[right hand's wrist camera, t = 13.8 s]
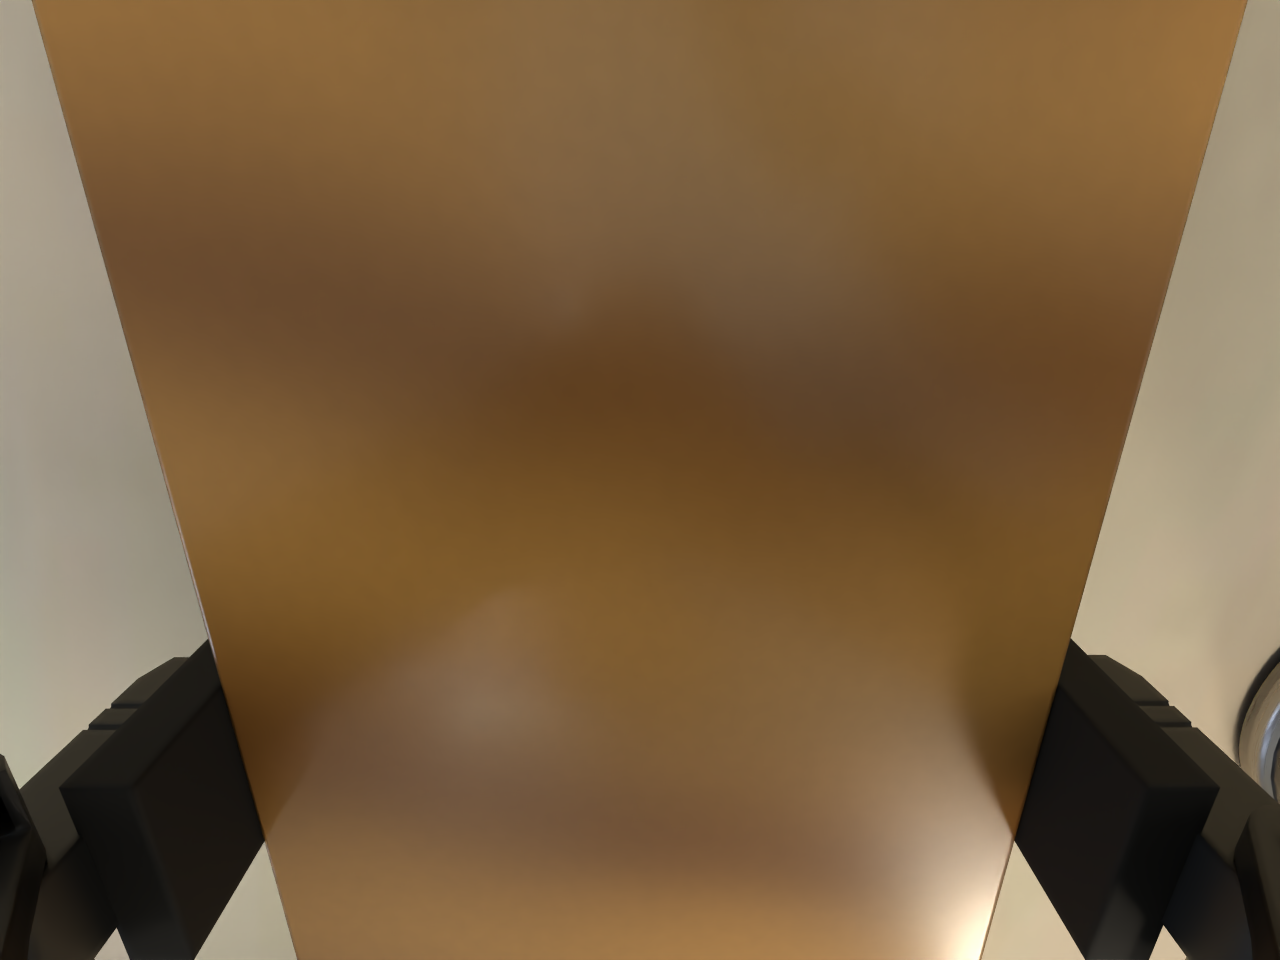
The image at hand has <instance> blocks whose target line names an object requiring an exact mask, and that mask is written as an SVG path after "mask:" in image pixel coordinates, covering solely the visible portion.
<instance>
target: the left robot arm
mask: <svg viewBox="0 0 1280 960" xmlns="http://www.w3.org/2000/svg"><path fill="white" fill-rule="evenodd" d="M1239 759H1240V765H1241V769H1242V770H1243V771H1244V772H1245V773H1246V774H1248V775H1249V776H1250V777H1251V778H1252V779H1253V780H1254V781H1255V782H1256V783H1257V784H1258V785H1259V786H1260V787H1262V788H1263V789H1264V790H1265V791H1266V792H1267V793H1268V794H1269V795H1270V796H1271V797H1272V798H1273V799H1274V800H1276V801H1277V802H1278V803H1279V804H1280V662H1279V663H1278V665H1277V666H1276V667H1275V668H1274V669H1273V670H1272V671H1271V673H1270V674H1269V676H1268V677H1267V678H1266V680H1265V681H1264V682H1263V684H1262V685H1261V687H1260V689H1259V690H1258V692H1257V693H1256V695H1255V697H1254V699H1253V701H1252V703H1251V705H1250V707H1249V709H1248V711H1247V714H1246V717H1245V720H1244V722H1243V726H1242V731H1241V735H1240V743H1239Z"/></svg>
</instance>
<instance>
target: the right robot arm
mask: <svg viewBox="0 0 1280 960" xmlns="http://www.w3.org/2000/svg"><path fill="white" fill-rule="evenodd" d="M1168 702H1169V701H1168V700H1167V699H1166V698H1165V697H1164V696H1162V695H1161V694H1160V693H1159V692H1158V691H1157V690H1156V689H1155V688H1154V687H1153V686H1152V685H1151V684H1150V683H1149V682H1147V681H1146V680H1145V679H1144V678H1143V677H1142V676H1140V675H1139V674H1137V673H1135V672H1134V671H1132V670H1130V669H1129V668H1127V667H1125V666H1123V665H1122V664H1120V663H1118V662H1117V661H1115V660H1113V659H1112V658H1110V657H1108V656H1106V655H1087V654H1086V653H1085V652H1084V651H1083V650H1082V649H1081V648H1080V647H1079V646H1078V645H1077V644H1076V643H1075V642H1074V641H1073V640H1072V639H1071V638H1070V642H1069V645H1068V649H1067V652H1066V656H1065V660H1064V663H1063V667H1062V670H1061V674H1060V678H1059V681H1058V685H1057V688H1056V692H1055V696H1054V699H1053V703H1052V706H1051V710H1050V714H1049V717H1048V721H1047V724H1046V728H1045V732H1044V735H1043V739H1042V742H1041V746H1040V750H1039V753H1038V757H1037V760H1036V764H1035V768H1034V771H1033V775H1032V778H1031V782H1030V786H1029V789H1028V793H1027V796H1026V800H1025V804H1024V807H1023V811H1022V814H1021V818H1020V822H1019V825H1018V829H1017V832H1016V836H1015V840H1014V841H1015V842H1016V844H1017V846H1018V847H1019V849H1020V851H1021V852H1022V854H1023V856H1024V857H1025V859H1026V861H1027V862H1028V864H1029V866H1030V867H1031V869H1032V871H1033V873H1034V874H1035V876H1036V878H1037V879H1038V881H1039V883H1040V884H1041V886H1042V888H1043V889H1044V891H1045V893H1046V894H1047V896H1048V898H1049V899H1050V901H1051V903H1052V905H1053V906H1054V908H1055V910H1056V911H1057V913H1058V915H1059V916H1060V918H1061V920H1062V921H1063V923H1064V925H1065V926H1066V928H1067V930H1068V931H1069V933H1070V935H1071V937H1072V938H1073V940H1074V942H1075V943H1076V945H1077V947H1078V948H1079V950H1080V952H1081V953H1082V955H1083V957H1084V958H1085V960H1149V958H1150V956H1151V953H1152V951H1153V949H1154V946H1155V944H1156V941H1157V939H1158V937H1159V934H1160V932H1161V929H1162V927H1163V925H1164V926H1165V928H1166V929H1167V930H1168V932H1169V933H1170V934H1171V936H1172V937H1173V939H1174V940H1175V941H1176V943H1177V944H1178V945H1179V947H1180V948H1181V949H1182V951H1183V952H1184V954H1185V955H1186V956H1187V957H1186V959H1185V960H1280V804H1279V803H1278V802H1277V801H1276V800H1274V799H1273V798H1272V797H1271V796H1270V795H1269V794H1268V793H1267V792H1266V791H1265V790H1264V789H1263V788H1262V787H1260V786H1259V785H1258V784H1257V783H1256V782H1255V781H1254V780H1253V779H1252V778H1251V777H1250V776H1249V775H1248V774H1246V773H1245V772H1244V771H1243V770H1242V769H1241V768H1240V767H1239V766H1238V765H1237V764H1236V763H1235V762H1234V761H1232V760H1231V759H1230V758H1229V757H1228V756H1227V755H1226V754H1225V753H1224V752H1223V751H1222V750H1221V749H1220V748H1218V747H1217V746H1216V745H1215V744H1214V743H1213V742H1212V741H1211V740H1210V739H1209V738H1208V737H1207V736H1206V735H1204V734H1203V733H1202V732H1201V731H1200V730H1199V729H1198V728H1193V727H1192V726H1191V722H1190V721H1189V720H1188V719H1187V718H1186V717H1185V716H1184V715H1183V714H1182V713H1181V712H1180V711H1179V710H1178V709H1176V708H1175V707H1174V706H1169V703H1168ZM263 843H264V837H263V834H262V830H261V826H260V823H259V819H258V816H257V812H256V808H255V805H254V801H253V798H252V794H251V790H250V787H249V783H248V779H247V776H246V772H245V769H244V765H243V761H242V758H241V754H240V751H239V747H238V743H237V740H236V736H235V733H234V729H233V725H232V722H231V718H230V715H229V711H228V707H227V704H226V700H225V696H224V693H223V689H222V686H221V682H220V678H219V675H218V671H217V668H216V664H215V660H214V657H213V653H212V650H211V646H210V642H209V639H207V640H206V641H205V642H204V643H203V644H202V645H201V646H200V647H199V648H198V649H197V650H196V651H195V652H194V653H193V654H192V655H191V656H190V657H174V658H172V659H171V660H169V661H167V662H165V663H164V664H162V665H160V666H159V667H157V668H155V669H154V670H152V671H150V672H149V673H147V674H145V675H143V676H142V677H140V678H138V679H137V680H136V681H135V682H134V683H133V684H132V685H131V686H130V687H129V688H128V689H126V690H125V691H124V692H123V693H122V694H121V695H120V696H119V697H118V698H117V699H116V700H115V701H114V702H113V703H112V704H111V708H110V709H105V710H104V711H103V712H102V713H101V714H100V715H99V716H98V717H97V718H95V719H94V720H93V721H92V722H91V723H90V724H89V728H88V730H83V731H82V732H80V733H79V734H78V735H77V736H76V737H75V738H74V739H73V740H72V741H71V742H70V743H69V744H68V745H67V746H66V747H64V748H63V749H62V750H61V751H60V752H59V753H58V754H57V755H56V756H55V757H54V758H53V759H52V760H51V761H49V762H48V763H47V764H46V765H45V766H44V767H43V768H42V769H41V770H40V771H39V772H38V773H37V774H36V775H34V776H33V777H32V778H31V779H30V780H29V781H28V782H27V783H26V784H25V785H24V786H23V787H22V788H21V789H20V790H19V788H18V786H17V784H16V782H15V779H14V777H13V775H12V773H11V771H10V768H9V766H8V764H7V762H6V759H5V757H4V756H3V755H1V754H0V960H95V959H94V958H95V956H96V955H97V954H98V952H99V951H100V950H101V948H102V947H103V945H104V944H105V943H106V941H107V940H108V939H109V937H110V936H111V934H112V933H113V932H114V930H115V929H116V928H117V929H118V932H119V934H120V937H121V939H122V941H123V944H124V946H125V949H126V951H127V953H128V956H129V958H130V960H194V959H195V957H196V955H197V954H198V952H199V950H200V949H201V947H202V945H203V944H204V942H205V940H206V939H207V937H208V935H209V934H210V932H211V930H212V929H213V927H214V925H215V923H216V922H217V920H218V918H219V917H220V915H221V913H222V912H223V910H224V908H225V907H226V905H227V903H228V902H229V900H230V898H231V897H232V895H233V893H234V891H235V890H236V888H237V886H238V885H239V883H240V881H241V880H242V878H243V876H244V875H245V873H246V871H247V870H248V868H249V866H250V865H251V863H252V861H253V859H254V858H255V856H256V854H257V853H258V851H259V849H260V848H261V846H262V844H263Z"/></svg>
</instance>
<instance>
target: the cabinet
mask: <svg viewBox="0 0 1280 960" xmlns="http://www.w3.org/2000/svg"><path fill="white" fill-rule="evenodd" d="M1247 1H1248V0H32V3H33V7H34V10H35V14H36V18H37V21H38V25H39V28H40V32H41V36H42V39H43V43H44V47H45V50H46V54H47V57H48V61H49V65H50V68H51V72H52V75H53V79H54V83H55V86H56V90H57V93H58V97H59V101H60V104H61V108H62V111H63V115H64V119H65V122H66V126H67V130H68V133H69V137H70V140H71V144H72V148H73V151H74V155H75V158H76V162H77V166H78V169H79V173H80V176H81V180H82V184H83V187H84V191H85V195H86V198H87V202H88V205H89V209H90V213H91V216H92V220H93V223H94V227H95V231H96V234H97V238H98V241H99V245H100V249H101V252H102V256H103V260H104V263H105V267H106V270H107V274H108V278H109V281H110V285H111V288H112V292H113V296H114V299H115V303H116V306H117V310H118V314H119V317H120V321H121V325H122V328H123V332H124V335H125V339H126V343H127V346H128V350H129V353H130V357H131V361H132V364H133V368H134V371H135V375H136V379H137V382H138V386H139V390H140V393H141V397H142V400H143V404H144V408H145V411H146V415H147V418H148V422H149V426H150V429H151V433H152V436H153V440H154V444H155V447H156V451H157V455H158V458H159V462H160V465H161V469H162V473H163V476H164V480H165V483H166V487H167V491H168V494H169V498H170V501H171V505H172V509H173V512H174V516H175V520H176V523H177V527H178V530H179V534H180V538H181V541H182V545H183V548H184V552H185V556H186V559H187V563H188V566H189V570H190V574H191V577H192V581H193V585H194V588H195V592H196V595H197V599H198V603H199V606H200V610H201V613H202V617H203V621H204V624H205V628H206V631H207V635H208V639H209V642H210V646H211V650H212V653H213V657H214V660H215V664H216V668H217V671H218V675H219V678H220V682H221V686H222V689H223V693H224V696H225V700H226V704H227V707H228V711H229V715H230V718H231V722H232V725H233V729H234V733H235V736H236V740H237V743H238V747H239V751H240V754H241V758H242V761H243V765H244V769H245V772H246V776H247V779H248V783H249V787H250V790H251V794H252V798H253V801H254V805H255V808H256V812H257V816H258V819H259V823H260V826H261V830H262V834H263V837H264V841H265V844H266V848H267V852H268V855H269V859H270V863H271V866H272V870H273V873H274V877H275V881H276V884H277V888H278V891H279V895H280V899H281V902H282V906H283V909H284V913H285V917H286V920H287V924H288V928H289V931H290V935H291V938H292V942H293V946H294V949H295V953H296V956H297V960H981V958H982V955H983V951H984V948H985V944H986V940H987V937H988V933H989V930H990V926H991V922H992V919H993V915H994V912H995V908H996V904H997V901H998V897H999V894H1000V890H1001V886H1002V883H1003V879H1004V876H1005V872H1006V868H1007V865H1008V861H1009V858H1010V854H1011V850H1012V847H1013V843H1014V840H1015V836H1016V832H1017V829H1018V825H1019V822H1020V818H1021V814H1022V811H1023V807H1024V804H1025V800H1026V796H1027V793H1028V789H1029V786H1030V782H1031V778H1032V775H1033V771H1034V768H1035V764H1036V760H1037V757H1038V753H1039V750H1040V746H1041V742H1042V739H1043V735H1044V732H1045V728H1046V724H1047V721H1048V717H1049V714H1050V710H1051V706H1052V703H1053V699H1054V696H1055V692H1056V688H1057V685H1058V681H1059V678H1060V674H1061V670H1062V667H1063V663H1064V660H1065V656H1066V652H1067V649H1068V645H1069V642H1070V638H1071V634H1072V631H1073V627H1074V624H1075V620H1076V616H1077V613H1078V609H1079V606H1080V602H1081V598H1082V595H1083V591H1084V588H1085V584H1086V580H1087V577H1088V573H1089V570H1090V566H1091V562H1092V559H1093V555H1094V552H1095V548H1096V544H1097V541H1098V537H1099V534H1100V530H1101V526H1102V523H1103V519H1104V516H1105V512H1106V508H1107V505H1108V501H1109V498H1110V494H1111V490H1112V487H1113V483H1114V480H1115V476H1116V472H1117V469H1118V465H1119V462H1120V458H1121V454H1122V451H1123V447H1124V444H1125V440H1126V436H1127V433H1128V429H1129V426H1130V422H1131V418H1132V415H1133V411H1134V408H1135V404H1136V400H1137V397H1138V393H1139V390H1140V386H1141V382H1142V379H1143V375H1144V372H1145V368H1146V364H1147V361H1148V357H1149V354H1150V350H1151V346H1152V343H1153V339H1154V336H1155V332H1156V328H1157V325H1158V321H1159V318H1160V314H1161V310H1162V307H1163V303H1164V299H1165V296H1166V292H1167V289H1168V285H1169V281H1170V278H1171V274H1172V271H1173V267H1174V263H1175V260H1176V256H1177V253H1178V249H1179V245H1180V242H1181V238H1182V235H1183V231H1184V227H1185V224H1186V220H1187V217H1188V213H1189V209H1190V206H1191V202H1192V199H1193V195H1194V191H1195V188H1196V184H1197V181H1198V177H1199V173H1200V170H1201V166H1202V163H1203V159H1204V155H1205V152H1206V148H1207V145H1208V141H1209V137H1210V134H1211V130H1212V127H1213V123H1214V119H1215V116H1216V112H1217V109H1218V105H1219V101H1220V98H1221V94H1222V91H1223V87H1224V83H1225V80H1226V76H1227V73H1228V69H1229V65H1230V62H1231V58H1232V55H1233V51H1234V47H1235V44H1236V40H1237V37H1238V33H1239V29H1240V26H1241V22H1242V19H1243V15H1244V11H1245V8H1246V4H1247Z"/></svg>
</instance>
